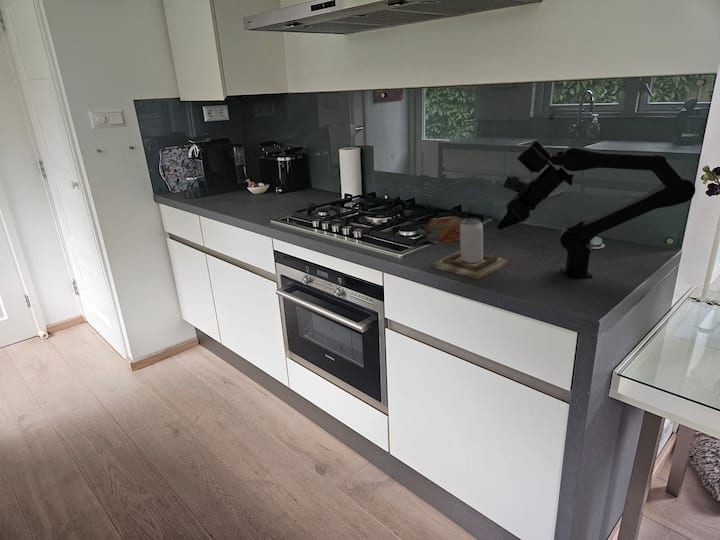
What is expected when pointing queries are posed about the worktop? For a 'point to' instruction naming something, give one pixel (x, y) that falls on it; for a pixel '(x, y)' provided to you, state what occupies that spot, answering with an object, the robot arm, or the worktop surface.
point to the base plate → (470, 265)
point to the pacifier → (596, 243)
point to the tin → (443, 229)
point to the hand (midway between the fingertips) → (501, 224)
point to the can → (471, 240)
